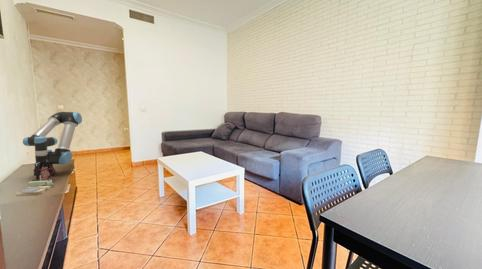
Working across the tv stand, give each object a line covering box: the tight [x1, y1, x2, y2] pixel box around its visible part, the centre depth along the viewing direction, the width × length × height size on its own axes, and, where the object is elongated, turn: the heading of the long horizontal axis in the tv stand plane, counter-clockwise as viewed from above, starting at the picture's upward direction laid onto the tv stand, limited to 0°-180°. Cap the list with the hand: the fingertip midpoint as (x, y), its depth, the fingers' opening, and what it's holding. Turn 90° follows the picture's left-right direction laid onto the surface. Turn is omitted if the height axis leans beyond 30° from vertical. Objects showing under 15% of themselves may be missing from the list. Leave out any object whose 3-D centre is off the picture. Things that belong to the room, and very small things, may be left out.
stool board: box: [15, 178, 55, 197], centre depth 165 cm, size 18×14×6 cm
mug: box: [32, 167, 53, 181], centre depth 180 cm, size 13×9×14 cm
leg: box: [27, 179, 53, 187], centre depth 170 cm, size 15×4×4 cm, turn 109°
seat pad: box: [19, 187, 41, 193], centre depth 162 cm, size 11×11×1 cm
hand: (43, 181), depth 180 cm, fingers open, 10 cm apart
